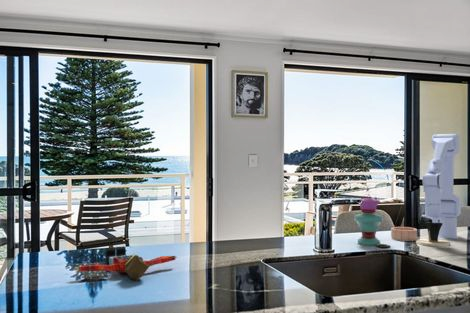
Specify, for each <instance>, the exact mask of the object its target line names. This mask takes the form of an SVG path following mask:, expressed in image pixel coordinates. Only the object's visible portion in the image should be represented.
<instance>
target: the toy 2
mask: <svg viewBox="0 0 470 313" xmlns="http://www.w3.org/2000/svg"><path fill="white" fill-rule="evenodd" d="M380 203H381V201H380V199H374V198H367V197H365V198H363V199H362V203H361V204H359V206H360V210H361V211H360V212H361V213H358V214H355V215H354V221H355V222H356V223H357V225H358V227H359V229H360V233H361V237H360V238H358V239H357V245H360V246H364V247H365V246H367V247H376V246H378V245H381V240H380V239H378V237H376V234H377V230H378V228H379V227H380V225H381V223H382V222H383V221H384V219H383V218H384V217H383V215H380V214H377V212H376V210H377V206H378V205H379V204H380Z"/></svg>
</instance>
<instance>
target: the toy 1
mask: <svg viewBox="0 0 470 313" xmlns="http://www.w3.org/2000/svg"><path fill="white" fill-rule="evenodd" d="M115 247H116V248H115ZM115 247H114V246H113V247H106V248H105V263H106V264H98V263H97V264H96V263H90V264H85V265H82V266H81V265H80V266H76V267H74V270H77V271H79V272H100V271H101V272H103V271H109V272H114V273H115V272H119V273H120V274H121V273H126V274H127V275H128V276H129V278H130V279H131V280H133V281H138V280H139V279H140V278H142V277H143V276H144V275H145V273H146V272H147V270H148V269H149V268H150V267H152V266H156V265H160V264H165V263H169V262H172V261H176V259H178V256H176V255H162V256H158V257H156V258H153V259H150V260H147V259H146V260H144V259H143V257H142V256H139V255H137V254H135V253H133V254H132V255H131V254H130V255H128V254H127V253H126V252H127V250H126V247H125V246H115ZM108 263H109V264H108Z"/></svg>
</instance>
